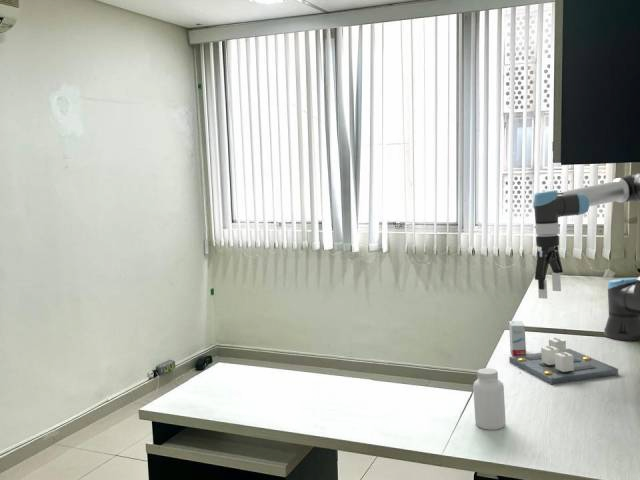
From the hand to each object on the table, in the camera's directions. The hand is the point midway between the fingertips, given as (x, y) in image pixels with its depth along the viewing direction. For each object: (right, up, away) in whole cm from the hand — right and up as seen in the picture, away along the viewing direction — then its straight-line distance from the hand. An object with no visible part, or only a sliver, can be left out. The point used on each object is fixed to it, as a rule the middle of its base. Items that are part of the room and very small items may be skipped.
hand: (550, 294), depth 214 cm
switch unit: (+1, -24, -8) cm, 26 cm away
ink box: (-8, -23, +11) cm, 27 cm away
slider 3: (-2, -23, -17) cm, 29 cm away
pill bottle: (-35, -31, -50) cm, 69 cm away
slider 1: (+3, -21, 0) cm, 21 cm away
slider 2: (-3, -22, -9) cm, 24 cm away
